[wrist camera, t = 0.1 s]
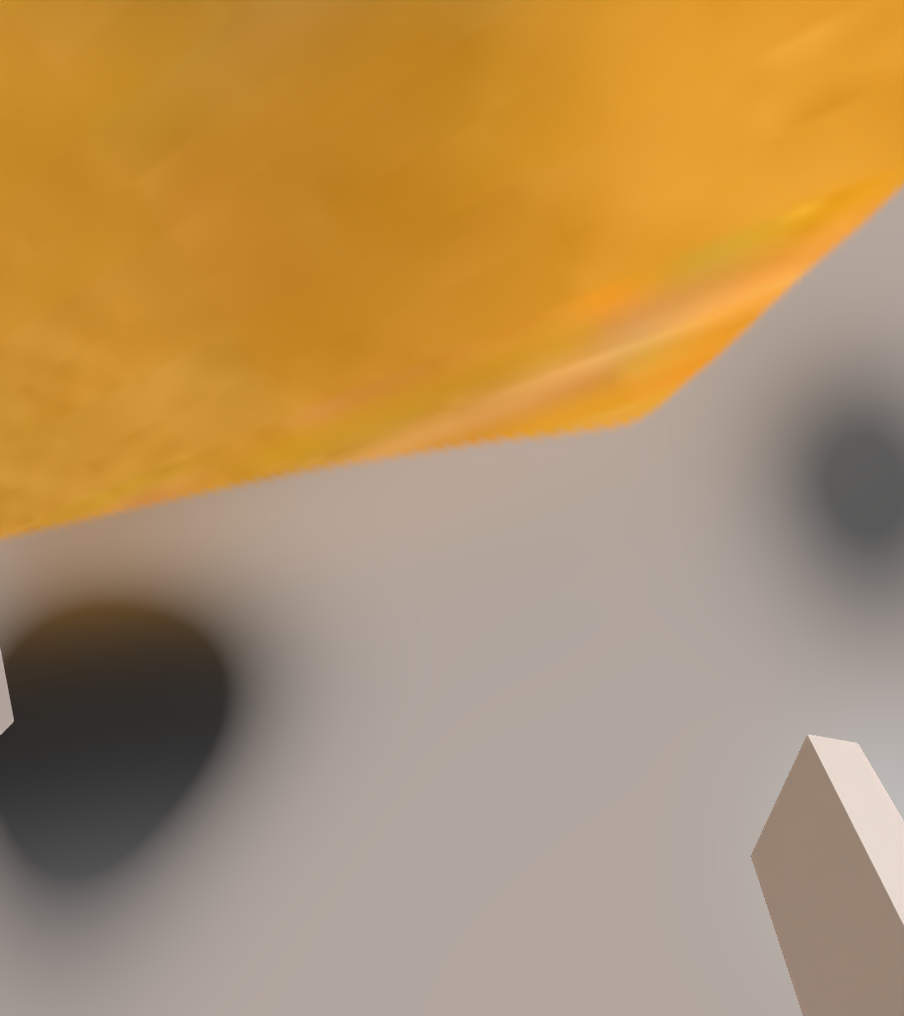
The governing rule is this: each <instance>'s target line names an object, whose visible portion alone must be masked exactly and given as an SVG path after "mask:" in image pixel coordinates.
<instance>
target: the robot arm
mask: <svg viewBox="0 0 904 1016" xmlns="http://www.w3.org/2000/svg"><path fill="white" fill-rule="evenodd" d="M13 722H14V719H13V713H12V708H11V703H10V697H9V692H8V687H7V681H6V676H5V671H4V665H3V661H2V655H1V649H0V735H1V734H2V733H3V732H4V731H5V730H6V729H7V728H8V727H9V726H10V725H11V724H12V723H13ZM751 858H752V861H753V864H754V867H755V870H756V873H757V876H758V879H759V882H760V885H761V888H762V892H763V894H764V897H765V901H766V904H767V907H768V910H769V913H770V916H771V919H772V922H773V925H774V928H775V931H776V934H777V937H778V940H779V944H780V947H781V950H782V953H783V955H784V959H785V962H786V965H787V968H788V971H789V974H790V977H791V980H792V983H793V986H794V989H795V992H796V995H797V999H798V1002H799V1005H800V1007H801V1011H802V1014H803V1016H904V821H903V819H902V818H901V816H900V814H899V813H898V811H897V809H896V807H895V806H894V804H893V802H892V801H891V799H890V797H889V796H888V794H887V792H886V790H885V789H884V787H883V786H882V784H881V782H880V780H879V778H878V777H877V775H876V773H875V772H874V770H873V768H872V767H871V765H870V763H869V761H868V760H867V758H866V756H865V755H864V753H863V751H862V750H861V748H860V746H859V745H858V743H854V742H848V741H842V740H836V739H831V738H825V737H820V736H814V735H807V737H806V739H805V741H804V743H803V745H802V747H801V749H800V751H799V754H798V756H797V759H796V760H795V762H794V764H793V766H792V769H791V771H790V773H789V775H788V777H787V779H786V782H785V784H784V786H783V788H782V790H781V792H780V794H779V797H778V799H777V801H776V803H775V805H774V807H773V809H772V812H771V814H770V816H769V818H768V820H767V822H766V824H765V826H764V829H763V831H762V833H761V835H760V837H759V839H758V842H757V844H756V846H755V848H754V850H753V852H752V855H751Z"/></svg>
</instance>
